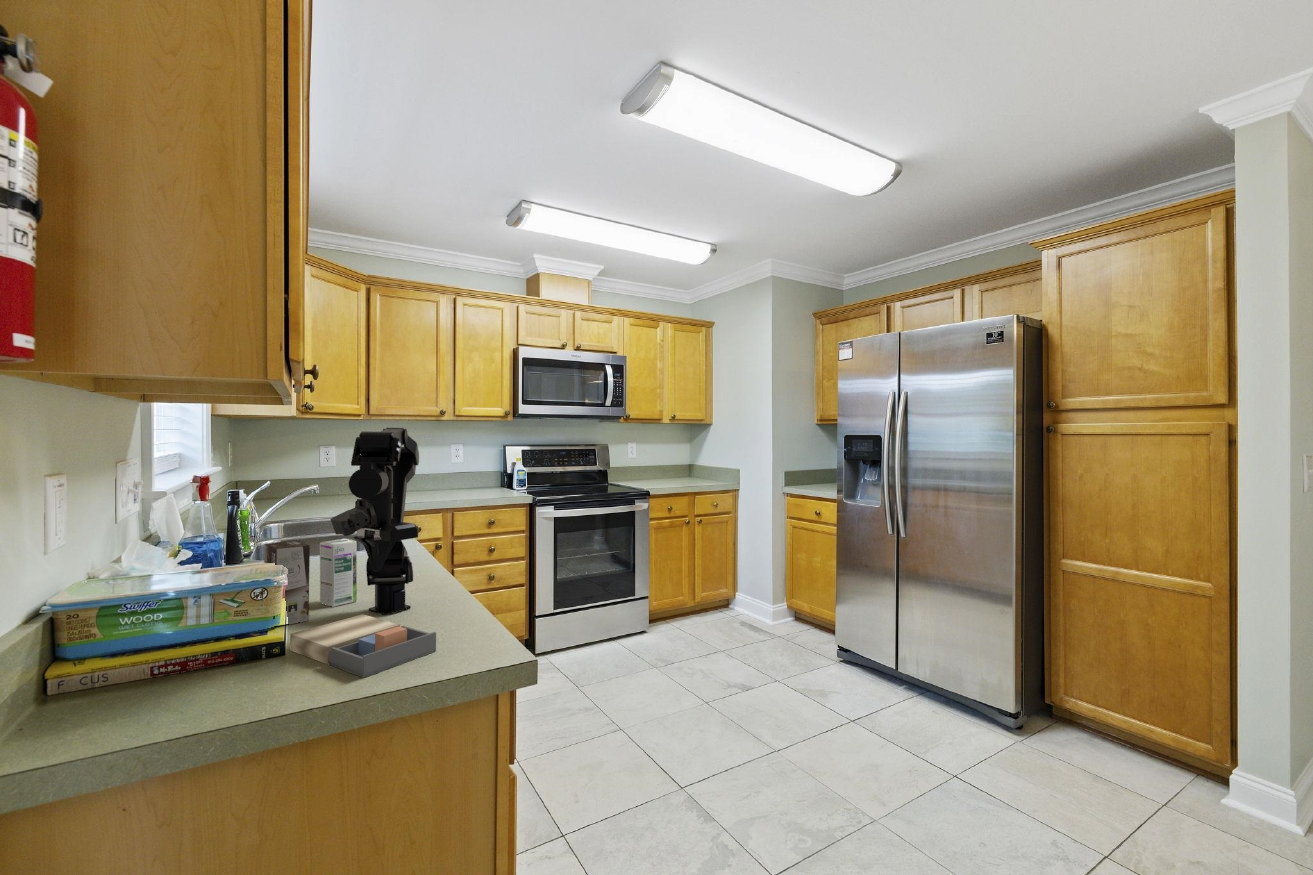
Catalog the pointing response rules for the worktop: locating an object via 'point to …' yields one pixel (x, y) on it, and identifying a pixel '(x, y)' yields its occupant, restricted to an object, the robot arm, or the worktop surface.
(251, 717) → the worktop surface
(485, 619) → the worktop surface
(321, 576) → the syrup box
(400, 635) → the terracotta tile
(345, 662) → the charcoal tray
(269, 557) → the coffee box
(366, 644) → the blue-glazed tile
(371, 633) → the birch board
